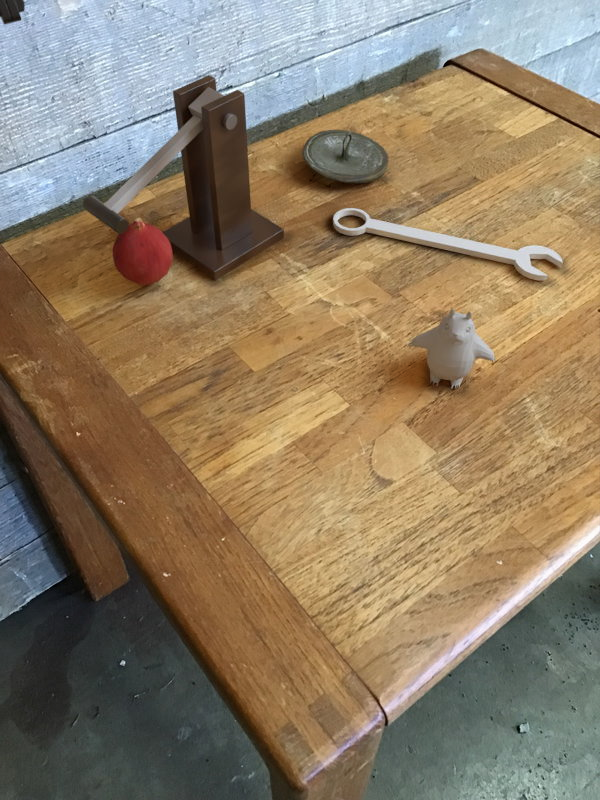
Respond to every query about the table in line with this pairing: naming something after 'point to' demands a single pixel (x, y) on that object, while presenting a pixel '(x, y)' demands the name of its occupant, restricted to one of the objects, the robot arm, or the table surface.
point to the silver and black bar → (149, 168)
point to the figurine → (452, 348)
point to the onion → (142, 253)
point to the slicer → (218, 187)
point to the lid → (345, 156)
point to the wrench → (453, 243)
